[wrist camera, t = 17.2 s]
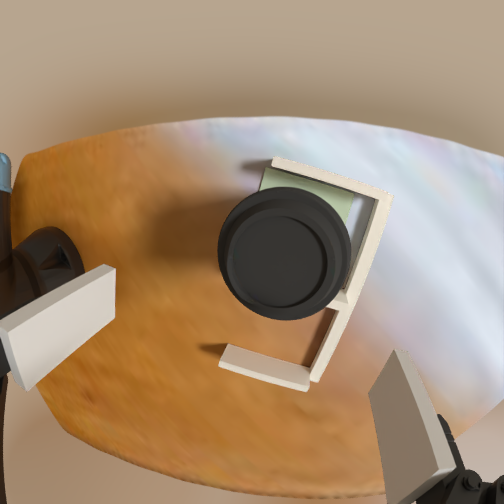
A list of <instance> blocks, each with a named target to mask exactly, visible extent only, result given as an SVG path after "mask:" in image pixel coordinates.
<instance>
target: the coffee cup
mask: <svg viewBox="0 0 504 504" xmlns="http://www.w3.org/2000/svg"><path fill="white" fill-rule="evenodd" d="M350 261H351V243H350V238H349V234H348V231H347V229H346V226H345V224H344V222H343V220H342V219H341V217H340V216H339V214H338V213H337V212H336V210H335V209H334V208H333V207H332V206H331V205H330V204H329V203H327V202H326V201H325V200H324V199H322V198H321V197H319V196H317V195H316V194H314V193H311V192H309V191H306V190H303V189H300V188H295V187H272V188H267V189H264V190H261V191H258V192H256V193H254V194H252V195H250V196H248V197H247V198H245V199H244V200H242V201H241V202H240V203H239V204H238V205H237V206H236V207H235V208H234V209H233V210H232V211H231V213H230V214H229V215H228V217H227V218H226V220H225V222H224V224H223V226H222V229H221V232H220V235H219V240H218V262H219V267H220V271H221V274H222V276H223V279H224V281H225V283H226V285H227V286H228V288H229V290H230V291H231V292H232V294H233V295H234V296H235V297H236V298H237V299H238V300H239V301H240V302H241V303H242V304H243V305H244V306H246V307H247V308H248V309H250V310H252V311H253V312H255V313H257V314H259V315H261V316H264V317H267V318H271V319H276V320H297V319H302V318H306V317H309V316H311V315H313V314H315V313H317V312H319V311H320V310H322V309H323V308H325V307H326V306H327V305H328V304H329V303H330V302H331V301H332V300H333V299H334V298H335V297H336V295H337V294H338V292H339V291H340V289H341V287H342V285H343V283H344V281H345V278H346V276H347V274H348V270H349V267H350Z"/></svg>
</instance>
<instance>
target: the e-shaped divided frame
mask: <svg viewBox="0 0 504 504" xmlns="http://www.w3.org/2000/svg"><path fill="white" fill-rule="evenodd" d="M271 166H273V167H275V168H279V169H283V170H286V171H290V172H294V173H297V174H300V175H304V176H307V177H311V178H314V179H317V180H321V181H324V182H327V183H330V184H333V185H336V186H339V187H343V188H346V189H349V190H352V191H354V192H357V193H360V194H363V195H366V196H369V197H372V198H374V199H376V200H375V203H374V206H373V210H372V213H371V216H370V219H369V222H368V225H367V228H366V231H365V234H364V237H363V240H362V243H361V246H360V249H359V252H358V255H357V258H356V260H355V263H354V266H353V269H352V271H351V274H350V276H349V279H348V282H347V284H346V287H345V289H340V291H339V292H338V294H337V295H336V297H335V298H334V299H333V300H332V301H331V302H330V303H329V304H328V305H327V306H326V307H328V308H332V309H335V310H336V312H335V314H334V316H333V319H332V321H331V323H330V326H329V328H328V330H327V332H326V335H325V337H324V339H323V341H322V344H321V346H320V348H319V350H318V352H317V354H316V356H315V359H314V361H313V363H312V365H311V367H310V368H309V367H305V366H302V365H298V364H294V363H290V362H287V361H283V360H280V359H276V358H273V357H269V356H266V355H263V354H260V353H256V352H253V351H250V350H247V349H244V348H240V347H237V346H234V345H231V344H228V345H227V347H226V349H225V351H224V353H223V355H222V357H221V359H220V362H219V367H222V368H225V369H228V370H231V371H234V372H237V373H240V374H243V375H246V376H250V377H253V378H256V379H260V380H263V381H266V382H270V383H273V384H277V385H281V386H284V387H288V388H292V389H296V390H300V391H304V392H307V391H308V389H309V387H310V381H314V382H318V381H319V379H320V377H321V375H322V373H323V372H324V370H325V368H326V366H327V364H328V362H329V360H330V358H331V356H332V354H333V352H334V350H335V348H336V346H337V344H338V342H339V339H340V337H341V335H342V333H343V331H344V329H345V327H346V324H347V322H348V320H349V318H350V315H351V313H352V311H353V309H354V306H355V304H356V302H357V299H358V297H359V294H360V292H361V290H362V287H363V285H364V282H365V280H366V277H367V274H368V272H369V269H370V267H371V264H372V261H373V259H374V256H375V253H376V250H377V247H378V245H379V242H380V239H381V236H382V233H383V230H384V227H385V224H386V221H387V218H388V214H389V211H390V208H391V205H392V201H393V198H394V195H391V194H388V192H386V191H384V190H381V189H378V188H376V187H373V186H370V185H367V184H364V183H362V182H359V181H356V180H353V179H350V178H347V177H344V176H341V175H338V174H335V173H332V172H328V171H325V170H322V169H319V168H315V167H312V166H309V165H305V164H302V163H298V162H295V161H291V160H287V159H284V158H280V157H276V156H274V157H273V161H272V165H271Z"/></svg>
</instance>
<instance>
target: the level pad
mask: <svg viewBox="0 0 504 504" xmlns="http://www.w3.org/2000/svg"><path fill="white" fill-rule="evenodd" d="M272 187H295V188H300V189H303V190H306V191H309V192H311V193H314V194H316V195H317V196H319V197H321V198H322V199H324V200H325V201H326V202H327V203H329V204H330V205H331V206H332V207H333V208H334V209H335V210H336V212H337V213H338V214H339V216H340V217H341V219H342V220H343V222H344V224H346V221H347V218H348V214H349V211H350V208H351V205H352V201H353V198H354V194H353V193H350V192H347V191H344V190H341V189H338V188H335V187H332V186H329V185H326V184H323V183H319V182H316V181H313V180H309V179H306V178H303V177H299V176H296V175H292V174H289V173H285V172H281V171H278V170H274V169H270V168H267V167H266V168H265V172H264V176H263V179H262V183H261V187H260V191H261V190H264V189H267V188H272Z"/></svg>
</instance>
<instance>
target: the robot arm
mask: <svg viewBox="0 0 504 504" xmlns="http://www.w3.org/2000/svg"><path fill="white" fill-rule="evenodd" d="M11 193H12V188H11V162H10V159H9V157H8V156H7V155H6V154H4V153H0V504H7V501H6V494H5V483H4V470H3V425H4V410H5V400H6V391H7V384H8V377H7V373H8V372H9V371H11V372H12V375H13V378H14V380H15V382H16V383H17V384H18V385H20V386H21V387H22V388H23V389H24V390H25V391H26V392H27V391H28V390H30V389H31V388H32V387H33V386H34V385H35V384H36V383H38V382H39V381H40V380H41V379H42V378H43V377H44V376H46V375H47V374H48V373H49V372H50V371H51V370H53V369H54V368H55V367H56V366H57V365H58V364H60V363H61V362H62V361H63V360H64V359H65V358H67V357H68V356H69V355H70V354H71V353H73V352H74V351H75V350H76V349H77V348H79V347H80V346H81V345H82V344H83V343H85V342H86V341H87V340H88V339H89V338H91V337H92V336H93V335H94V334H96V333H97V332H98V331H99V330H100V329H102V328H103V327H104V326H105V325H107V324H108V323H109V322H110V321H111V320H113V319H114V318H115V279H116V268H113V267H110V266H108V265H105V264H103V265H101V266H99V267H97V268H95V269H93V270H91V271H89V272H87V273H85V271H84V267H83V263H82V260H81V258H80V255H79V253H78V251H77V249H76V247H75V245H74V244H73V242H72V241H71V239H70V238H69V237H68V236H67V235H66V234H65V233H64V232H63V231H61V230H60V229H58V228H56V227H45V228H42V229H38V230H36V231H34V232H33V233H32V234H31V235H30V236H28V237H27V238H26V239H25V240H24V241H22V242H21V243H20V244H19V245H18V246H17V247H16V248H14V249H12V242H11V223H10V198H11ZM368 394H369V398H370V403H371V408H372V413H373V417H374V422H375V428H376V433H377V438H378V444H379V450H380V456H381V462H382V468H383V475H384V482H385V490H386V498H387V504H411V503H413V502H414V501H416V504H504V475H502V476H500V477H499V478H498V479H497V480H496V481H495V482H494V483H488V482H482V479H481V478H480V476H479V475H478V474H477V473H476V472H475V471H472V470H465V467H464V464H463V461H462V459H461V456H460V453H459V450H458V448H457V445H456V443H455V442H454V438H453V435H451V430H450V428H449V426H448V423H447V422H446V421H445V420H444V418H443V417H442V416H441V415H440V414H436V412H435V409H434V407H433V405H432V402H431V400H430V398H429V396H428V393H427V391H426V389H425V387H424V385H423V382H422V380H421V378H420V376H419V374H418V372H417V370H416V367H415V365H414V363H413V361H412V359H411V357H410V355H409V353H408V351H403V350H397V349H394V350H393V352H392V354H391V355H390V357H389V359H388V361H387V363H386V364H385V366H384V368H383V370H382V371H381V373H380V375H379V377H378V378H377V380H376V382H375V383H374V385H373V386H372V388H371V390H370V391H369V393H368Z"/></svg>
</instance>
